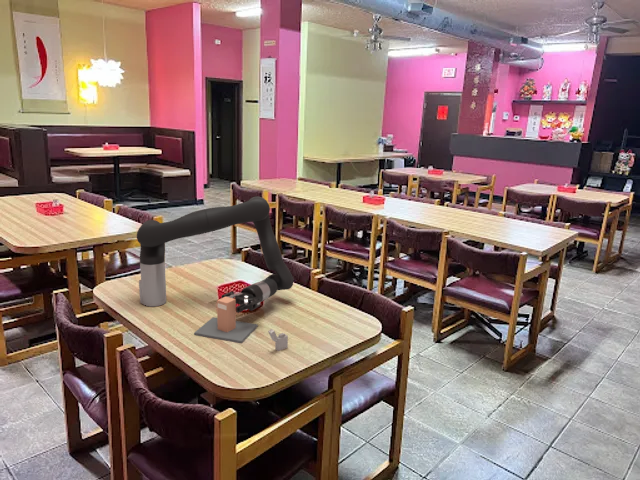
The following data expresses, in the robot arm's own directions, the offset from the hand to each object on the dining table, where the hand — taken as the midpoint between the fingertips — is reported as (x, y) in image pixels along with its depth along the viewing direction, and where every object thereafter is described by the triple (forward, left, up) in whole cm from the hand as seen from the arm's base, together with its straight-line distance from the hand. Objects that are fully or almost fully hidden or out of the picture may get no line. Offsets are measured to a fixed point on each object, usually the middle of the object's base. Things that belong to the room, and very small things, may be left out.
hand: (227, 307), depth 171 cm
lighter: (+22, -7, -9) cm, 25 cm away
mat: (0, 0, -9) cm, 9 cm away
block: (0, 0, -8) cm, 8 cm away
